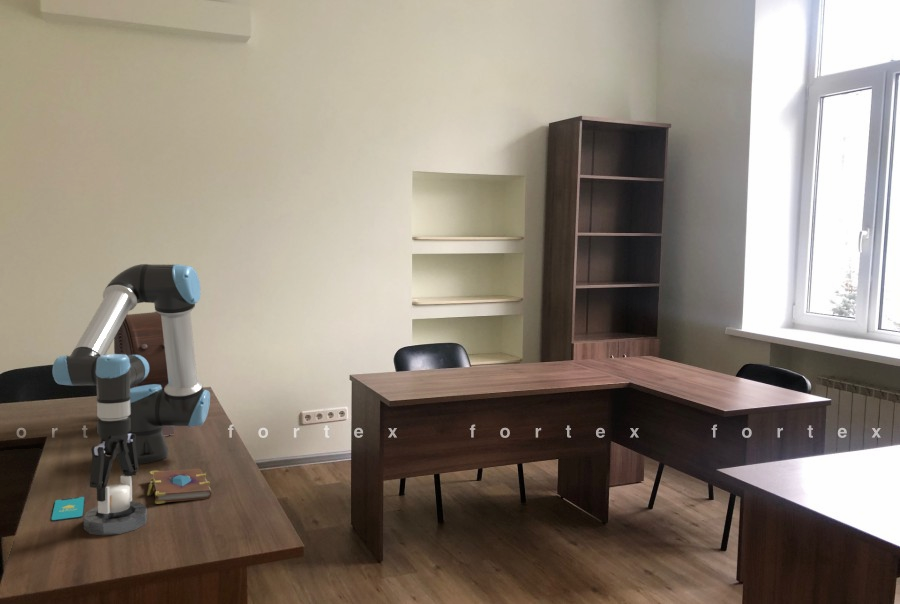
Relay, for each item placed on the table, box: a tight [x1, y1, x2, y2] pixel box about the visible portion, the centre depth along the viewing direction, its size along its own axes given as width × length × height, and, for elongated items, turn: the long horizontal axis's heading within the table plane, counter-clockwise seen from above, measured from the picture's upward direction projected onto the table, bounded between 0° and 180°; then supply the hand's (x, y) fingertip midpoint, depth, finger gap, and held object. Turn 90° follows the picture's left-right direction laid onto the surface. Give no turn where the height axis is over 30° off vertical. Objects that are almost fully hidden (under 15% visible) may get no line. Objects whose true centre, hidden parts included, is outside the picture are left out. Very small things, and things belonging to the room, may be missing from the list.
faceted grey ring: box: [83, 501, 148, 536], centre depth 181 cm, size 14×14×3 cm
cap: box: [107, 483, 130, 513], centre depth 181 cm, size 8×7×5 cm
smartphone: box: [50, 496, 86, 522], centre depth 190 cm, size 7×1×15 cm
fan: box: [113, 311, 175, 435], centre depth 268 cm, size 41×18×44 cm, turn 34°
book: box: [146, 468, 212, 505], centre depth 207 cm, size 16×25×5 cm, turn 26°
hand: (115, 506), depth 181 cm, fingers closed on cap, 8 cm apart
